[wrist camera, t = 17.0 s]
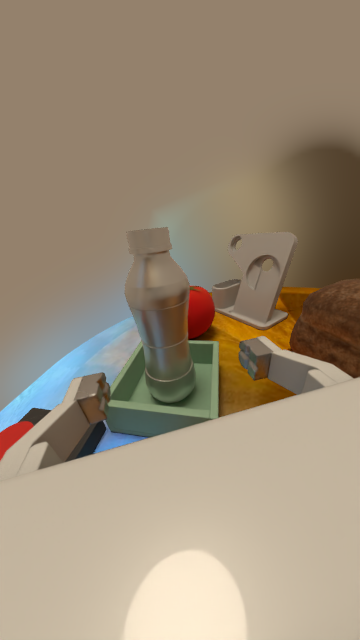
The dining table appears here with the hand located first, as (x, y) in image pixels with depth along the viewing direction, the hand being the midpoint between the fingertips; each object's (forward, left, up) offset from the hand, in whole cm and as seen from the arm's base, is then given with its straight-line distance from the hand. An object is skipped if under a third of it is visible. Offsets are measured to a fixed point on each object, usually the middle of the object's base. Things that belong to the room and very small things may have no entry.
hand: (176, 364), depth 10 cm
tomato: (-4, +25, -14) cm, 29 cm away
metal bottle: (-4, +9, -13) cm, 16 cm away
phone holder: (+9, +36, -14) cm, 39 cm away
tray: (-4, +9, -13) cm, 17 cm away
